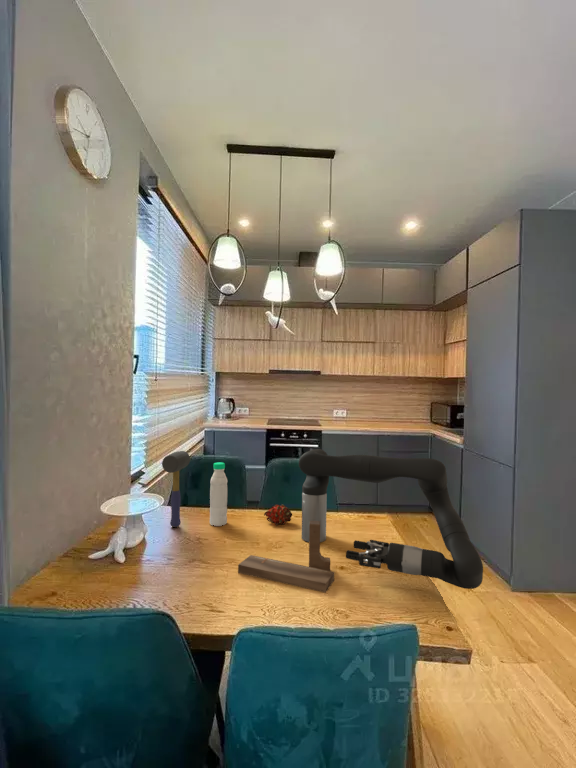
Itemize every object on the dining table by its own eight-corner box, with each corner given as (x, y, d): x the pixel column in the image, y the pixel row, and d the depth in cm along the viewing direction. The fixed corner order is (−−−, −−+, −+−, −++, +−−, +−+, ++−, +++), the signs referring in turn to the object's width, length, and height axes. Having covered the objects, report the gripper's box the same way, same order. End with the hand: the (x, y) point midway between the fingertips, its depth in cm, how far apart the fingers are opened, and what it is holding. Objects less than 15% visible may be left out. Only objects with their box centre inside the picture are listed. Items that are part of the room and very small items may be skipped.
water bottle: (225, 526, 167) (226, 464, 167) (207, 526, 167) (208, 464, 167) (228, 521, 174) (229, 461, 174) (211, 520, 174) (212, 461, 174)
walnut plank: (250, 562, 133) (250, 554, 133) (334, 580, 122) (334, 571, 122) (238, 572, 126) (238, 564, 126) (325, 592, 115) (325, 583, 115)
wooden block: (308, 572, 127) (309, 523, 127) (308, 568, 130) (309, 520, 130) (330, 573, 126) (330, 524, 126) (329, 569, 130) (330, 521, 130)
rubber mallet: (173, 521, 172) (174, 449, 172) (190, 522, 171) (191, 450, 171) (159, 531, 160) (160, 454, 160) (177, 533, 158) (178, 455, 159)
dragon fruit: (293, 529, 169) (265, 531, 172) (295, 512, 176) (268, 514, 179) (289, 516, 165) (260, 518, 167) (291, 499, 172) (263, 501, 174)
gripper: (409, 537, 124) (356, 529, 131) (402, 555, 111) (343, 544, 118) (408, 562, 124) (355, 552, 131) (401, 582, 111) (343, 570, 118)
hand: (350, 548), depth 124 cm, fingers open, 8 cm apart
